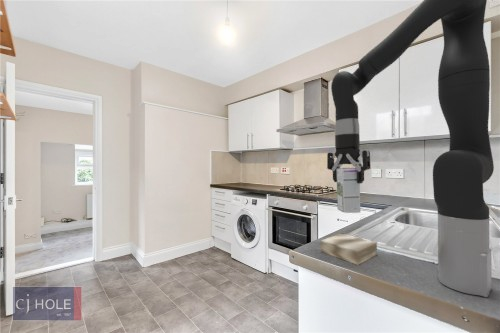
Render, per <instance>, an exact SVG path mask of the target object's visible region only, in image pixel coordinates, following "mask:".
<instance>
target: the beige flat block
mask: <svg viewBox="0 0 500 333" xmlns="http://www.w3.org/2000/svg"><path fill="white" fill-rule="evenodd" d="M377 246H378V243H377V242H376V241H373V240H369V239H368V240H367V239H365V238H360V237H358V236H357V237H356V236H352V235H348V234H344V233H337V234H334V235H332V236H330V237H326V238H324V239H321V240H320V252H321V253H323V254H326V255H329V256H331V257H334V258H337V259H340V260H343V261H346V262H348V263H351V264H354V265H357V266H359V265H361V264H362V263H365V262H366V261H368V260H370V259H372V258H374V257H375V256H377V255H378V248H377Z"/></svg>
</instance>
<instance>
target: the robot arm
mask: <svg viewBox="0 0 500 333" xmlns="http://www.w3.org/2000/svg"><path fill="white" fill-rule="evenodd" d="M487 1H488V0H422V2H421V3H420V4H419V5H417V7H416V8H415V9H414V10H413V11H412V12H411V13H410V14H409V15H408V16H406V18H405V19H404V20H403V21H402V22H401V23H400V24H399V25H398V26H397V27H396V28H395V29H394V30H393V31H392V32H390V33H389V35H387V36H386V37H385V38H384V39H383V40H382V41H380V42H379V43H378V44H377V45H376V46H374V47H373V48H372V49H370V51H368V52H367V53H366V54H365V55H364V56H363V57H362V58H361V59H360V60H359V61H358V64H357V65H358V67H357V69H356V70H355V71H354V72H353V73H351V72H349V71H347V70H342V71H339V72H337V73H336V74H335V76H334V77H333V78H332V81H331V85H330V86H331V96H332V101H333V104H334V107H335V124H334V147H335V152H327V162H326V163H327V164H326V166H327V167H326V169H327V170H330V171H332V180H333V182H334V183H337V170H336V169H337V168H342V166H343V165H352V166H353V168H356V169H357V171H358V172H357V183H360V184H363V182H364V181H365V171H369V170H370V169H371V151H370V150H365V149H364V150H360V146H361V145H360V143H361V142H360V141H361V140H360V123H359V122H360V121H359V105H358V103H357V101H355V97H354V96H356V95H357V94H359V93H360V92H361V91H362V90H363V89H365V87H367V85H368V84H369V83H370V82H371V81H372V80H373V79H374V78H375V77H376V76H378V74H380V73H381V72H383V71H384V70H385V69H387V68H388V67H389V66H391V65H392V64H393V63H395V62H396V61H397V60H398V59H400V57H401V56H402V55H403V54H404V53H405V52H406V51H407V50H408V48H409V47H410V46H411V45H412V44H413V43H414V42H415V41H416V39H418V38H419V37H420V35H422V34H423V33H424V32H425V31H426V30H427V29H429V28H430V27H431V26H432V25H434V24H435V23H436V22H438V21H440V22H441V26H442V28H441V29H442V34H443V51H442V55H441V59H440V64H439V67H438V76H437V78H438V79H437V83H438V84H437V90H438V92H437V93H438V94H437V96H438V102H439V106H440V109H441V112H442V115H443V117H444V119H445V123H446V125H447V128H448V133H449V134H448V135H449V149H448V150H449V151H448V150H447V151H445V152H443V153H442V154H440V155H439V156H438V157H437V158H436V160H435V161H434V163H433V167H432V186H433V200H434V203H435V205H436V207H437V279H438V281H439V282H440V283H441V284H442V285H444V286H446V287H448V288H449V289H452V290H453V291H457V292H461V293H463V294H469V295H473V296H481V297H484V298H488V297H489V295H490V293H491V290H492V289H493V288H492V248H490V208H489V206H488V204H487V203H486V202H485V198H484V197H485V196H484V184H485V183H486V182H488V181H489V180H490V179H491V177H492V176H493V173H494V169H495V164H494V159H493V153H492V152H493V151H492V148H491V143H490V142H491V141H490V132H489V120H490V119H489V116H490V88H491V82H490V81H491V78H490V77H491V75H490V74H491V73H490V61H489V54H488V49H487V45H486V41H485V35H484V34H485V33H484V26H485V15H486V8H487ZM360 157H361V158H362V161H360V159H359V158H360ZM335 159H336V160H335Z"/></svg>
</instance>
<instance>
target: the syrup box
mask: <svg viewBox="0 0 500 333" xmlns="http://www.w3.org/2000/svg"><path fill="white" fill-rule="evenodd" d="M336 170H337V182H336V199H337V200H336V202H337V206H336V208H337V210H338V211H340V212H342V213H345V214H349V213H352V214H354V213H361V186H360V185H361V183H357V172H358V171H357V169H356V168H355V167H340V168H337V169H336Z"/></svg>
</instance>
